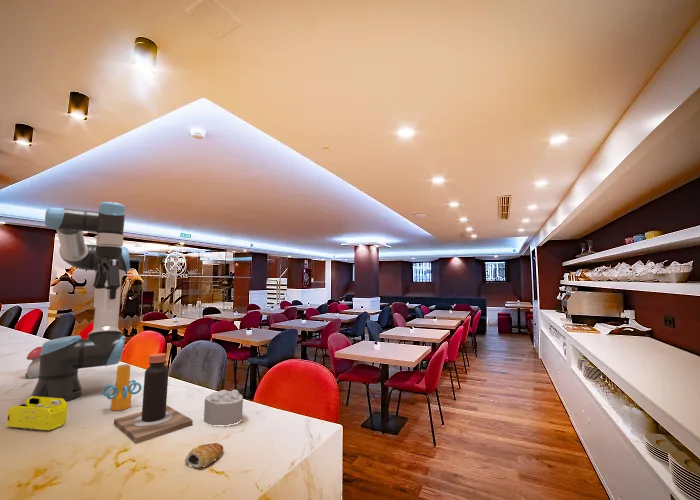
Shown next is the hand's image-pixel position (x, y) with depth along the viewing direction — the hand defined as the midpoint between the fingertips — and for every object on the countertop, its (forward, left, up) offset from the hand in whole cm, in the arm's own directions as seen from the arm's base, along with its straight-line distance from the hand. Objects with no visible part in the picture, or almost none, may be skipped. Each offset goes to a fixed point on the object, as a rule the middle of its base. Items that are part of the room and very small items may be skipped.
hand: (104, 308), depth 112 cm
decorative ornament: (-82, -4, -37) cm, 90 cm away
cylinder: (-6, +9, -37) cm, 38 cm away
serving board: (+18, +11, -37) cm, 42 cm away
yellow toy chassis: (-8, -13, -37) cm, 40 cm away
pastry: (+51, +11, -37) cm, 64 cm away
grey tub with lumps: (+32, +28, -37) cm, 56 cm away
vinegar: (+18, +11, -35) cm, 41 cm away
